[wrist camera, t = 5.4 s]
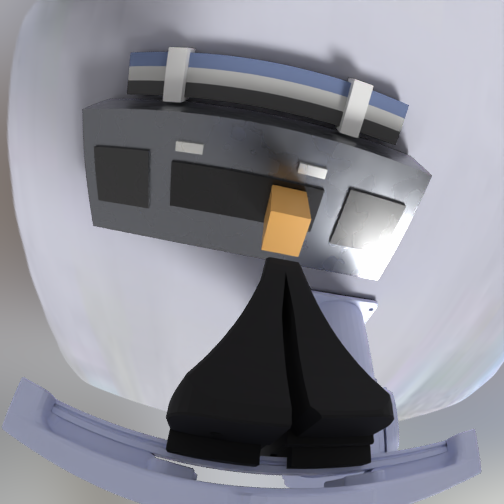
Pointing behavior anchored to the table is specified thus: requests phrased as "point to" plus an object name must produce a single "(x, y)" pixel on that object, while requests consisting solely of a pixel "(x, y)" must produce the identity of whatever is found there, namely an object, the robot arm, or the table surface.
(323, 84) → the cords
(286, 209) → the lever
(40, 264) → the table surface
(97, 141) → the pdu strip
